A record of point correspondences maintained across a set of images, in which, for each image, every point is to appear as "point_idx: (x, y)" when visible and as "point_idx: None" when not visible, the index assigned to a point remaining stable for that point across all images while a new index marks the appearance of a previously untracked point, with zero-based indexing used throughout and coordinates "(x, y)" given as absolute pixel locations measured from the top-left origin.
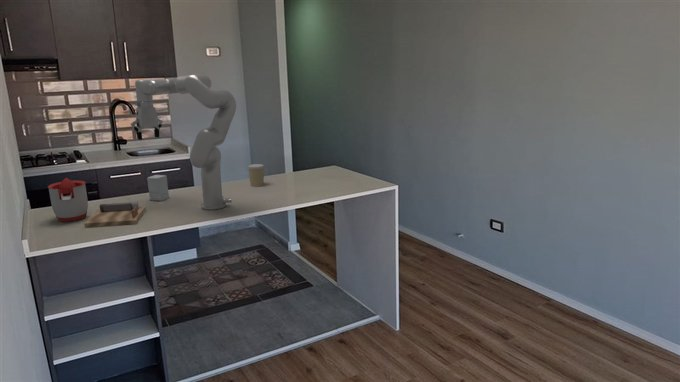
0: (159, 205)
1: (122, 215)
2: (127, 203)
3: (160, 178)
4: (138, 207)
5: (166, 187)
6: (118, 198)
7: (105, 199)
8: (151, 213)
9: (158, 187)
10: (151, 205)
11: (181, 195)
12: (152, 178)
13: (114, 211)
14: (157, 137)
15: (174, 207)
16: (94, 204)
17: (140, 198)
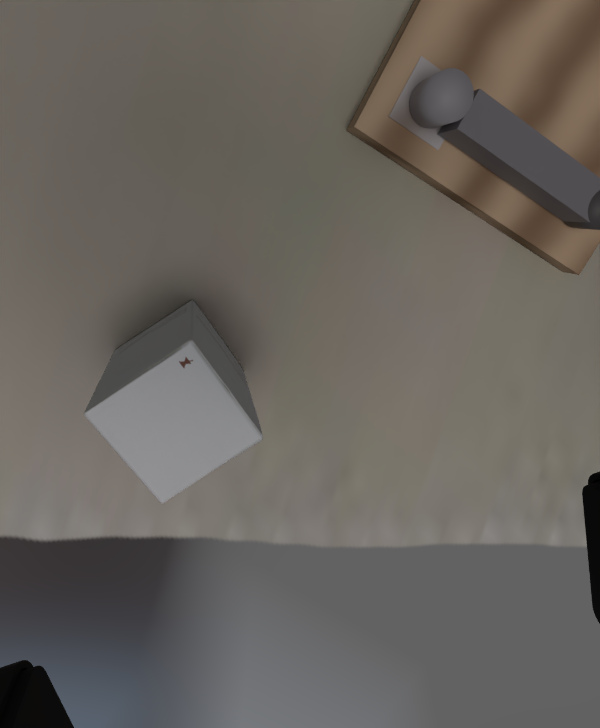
0: (234, 191)
1: (542, 8)
2: (490, 118)
3: (163, 355)
4: (417, 86)
5: (116, 365)
6: (377, 524)
7: (436, 543)
8: (344, 19)
9: (195, 325)
10: (277, 231)
11: (14, 355)
12: (229, 389)
13: None
14: (46, 692)
15: (161, 49)
16: (512, 474)
17: (277, 450)
